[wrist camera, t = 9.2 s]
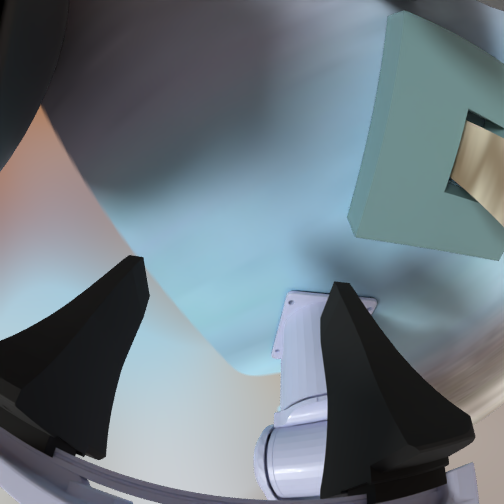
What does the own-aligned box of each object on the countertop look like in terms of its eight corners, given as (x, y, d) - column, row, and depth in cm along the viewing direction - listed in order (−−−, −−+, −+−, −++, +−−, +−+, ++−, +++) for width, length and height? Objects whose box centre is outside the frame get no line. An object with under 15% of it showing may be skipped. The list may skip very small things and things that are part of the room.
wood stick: (462, 175, 16) (538, 247, 9) (438, 167, 16) (516, 241, 9) (476, 125, 14) (566, 179, 6) (452, 114, 14) (547, 164, 6)
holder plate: (484, 243, 19) (498, 261, 17) (347, 217, 19) (355, 237, 17) (532, 97, 11) (553, 105, 9) (387, 16, 11) (404, 10, 9)
